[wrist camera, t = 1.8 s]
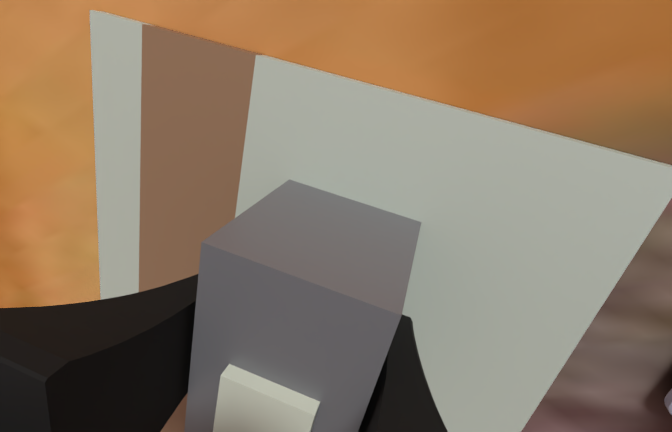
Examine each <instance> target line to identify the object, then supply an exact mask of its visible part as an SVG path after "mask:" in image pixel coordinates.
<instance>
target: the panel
mask: <svg viewBox="0 0 672 432" xmlns="http://www.w3.org/2000/svg"><path fill="white" fill-rule="evenodd" d="M90 33H91V60H92V86H93V112H94V138H95V165H96V191H97V217H98V243H99V270H100V296H101V300H102V299H108V298H114V297H119V296H125V295H129V294H134V293H138V292H142V291H146V290H150V289H154V288H157V287H161V286H164V285H167V284H170V283H173V282H176V281H179V280H182V279H185V278H188V277H191V276H194V275H196V274H199V263H200V252H201V242H202V241H204V240H205V239H206V238H208V237H209V236H211V235H212V234H213V233H215V232H216V231H218V230H219V229H220V228H222V227H223V226H225V225H226V224H227V223H229V222H230V221H232V220H233V219H234V218H236V217H237V216H239V215H240V214H241V213H243V212H244V211H246V210H247V209H248V208H250V207H251V206H253V205H254V204H255V203H257V202H258V201H260V200H261V199H262V198H264V197H265V196H267V195H268V194H269V193H271V192H272V191H274V190H275V189H277V188H278V187H279V186H281V185H282V184H284V183H285V182H286V181H288V180H289V179H290V180H293V181H296V182H299V183H302V184H305V185H308V186H311V187H314V188H317V189H321V190H324V191H327V192H330V193H333V194H336V195H339V196H342V197H345V198H348V199H351V200H355V201H358V202H361V203H364V204H367V205H370V206H373V207H376V208H379V209H382V210H385V211H388V212H392V213H395V214H398V215H401V216H404V217H407V218H410V219H413V220H416V221H419V222H421V227H420V231H419V236H418V241H417V246H416V250H415V255H414V260H413V264H412V269H411V274H410V278H409V283H408V288H407V292H406V297H405V302H404V307H403V311H402V314H403V315H405V316H408V317H410V318H411V319H412V321H413V330H414V336H415V341H416V345H417V349H418V353H419V357H420V361H421V364H422V368H423V371H424V374H425V377H426V380H427V383H428V386H429V389H430V392H431V394H432V397H433V399H434V402H435V404H436V407H437V409H438V412H439V414H440V416H441V418H442V420H443V423H444V425H445V427H446V429H447V431H448V432H521V431H522V429H523V428H524V426H525V425H526V423H527V422H528V420H529V419H530V417H531V415H532V414H533V412H534V411H535V409H536V408H537V406H538V405H539V403H540V401H541V400H542V398H543V397H544V395H545V394H546V392H547V391H548V389H549V387H550V386H551V384H552V383H553V381H554V380H555V378H556V377H557V375H558V373H559V372H560V370H561V369H562V367H563V366H564V364H565V363H566V361H567V359H568V358H569V356H570V355H571V353H572V352H573V350H574V349H575V347H576V345H577V344H578V342H579V341H580V339H581V338H582V336H583V335H584V333H585V331H586V330H587V328H588V327H589V325H590V324H591V322H592V321H593V319H594V317H595V316H596V314H597V313H598V311H599V310H600V308H601V307H602V305H603V303H604V302H605V300H606V299H607V297H608V296H609V294H610V293H611V291H612V290H613V288H614V286H615V285H616V283H617V282H618V280H619V279H620V277H621V276H622V274H623V272H624V271H625V269H626V268H627V266H628V265H629V263H630V262H631V260H632V258H633V257H634V255H635V254H636V252H637V251H638V249H639V248H640V246H641V244H642V243H643V241H644V240H645V238H646V237H647V235H648V234H649V232H650V230H651V229H652V227H653V226H654V224H655V223H656V221H657V220H658V218H659V216H660V215H661V213H662V212H663V210H664V209H665V207H666V206H667V204H668V202H669V201H670V199H671V198H672V165H669V164H665V163H661V162H657V161H654V160H650V159H646V158H643V157H639V156H635V155H632V154H628V153H624V152H620V151H617V150H613V149H609V148H606V147H602V146H598V145H595V144H591V143H587V142H584V141H580V140H576V139H572V138H569V137H565V136H561V135H558V134H554V133H550V132H547V131H543V130H539V129H535V128H532V127H528V126H524V125H521V124H517V123H513V122H510V121H506V120H502V119H499V118H495V117H491V116H487V115H484V114H480V113H476V112H473V111H469V110H465V109H462V108H458V107H454V106H450V105H447V104H443V103H439V102H436V101H432V100H428V99H425V98H421V97H417V96H414V95H410V94H406V93H402V92H399V91H395V90H391V89H388V88H384V87H380V86H377V85H373V84H369V83H365V82H362V81H358V80H354V79H351V78H347V77H343V76H340V75H336V74H332V73H329V72H325V71H321V70H317V69H314V68H310V67H306V66H303V65H299V64H295V63H292V62H288V61H284V60H280V59H277V58H273V57H269V56H266V55H262V54H258V53H255V52H251V51H247V50H244V49H240V48H236V47H232V46H229V45H225V44H221V43H218V42H214V41H210V40H207V39H203V38H199V37H195V36H192V35H188V34H184V33H181V32H177V31H173V30H170V29H166V28H162V27H158V26H155V25H151V24H147V23H144V22H140V21H136V20H133V19H129V18H125V17H122V16H118V15H114V14H110V13H107V12H102V11H95V10H90ZM187 395H188V393H187V394H186V395H185V397H184V398H183V400H182V401H181V402H180V404H179V405H178V407H177V408H176V410H175V411H174V413H173V414H172V415H171V417H170V418H169V420H168V421H167V423H166V424H165V426H164V427H163V429H162V430H161V432H184V428H185V417H186V406H187Z"/></svg>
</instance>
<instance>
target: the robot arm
mask: <svg viewBox="0 0 672 432" xmlns="http://www.w3.org/2000/svg"><path fill="white" fill-rule="evenodd" d="M197 285H198V274H196V275H194V276H191V277H188V278H185V279H182V280H179V281H176V282H173V283H170V284H167V285H164V286H161V287H157V288H154V289H150V290H146V291H142V292H138V293H134V294H129V295H125V296H119V297H114V298H108V299H102V300H97V301H91V302H83V303H75V304H66V305H56V306H43V307H22V308H0V432H161V430H162V429H163V427H164V426H165V424H166V423H167V421H168V420H169V418H170V417H171V415H172V414H173V413H174V411H175V410H176V408H177V407H178V405H179V404H180V402H181V401H182V400H183V398H184V397H185V395H186V394H187V393H188V384H189V373H190V362H191V351H192V340H193V329H194V318H195V307H196V296H197ZM664 403H665V406H666V408H667V409H668V411H669V413H670V414H671V415H672V389H671V390H670V391H669V393H668V394H667V395H666V397H665V399H664ZM358 432H448V431H447V429H446V427H445V425H444V423H443V420H442V418H441V416H440V414H439V412H438V409H437V407H436V404H435V402H434V399H433V397H432V394H431V392H430V389H429V386H428V383H427V380H426V377H425V374H424V371H423V368H422V364H421V361H420V357H419V353H418V349H417V345H416V341H415V336H414V330H413V321H412V319H411V318H410V317H408V316H405V315H403V314H402V316H401V318H400V321H399V324H398V326H397V329H396V332H395V334H394V337H393V340H392V342H391V345H390V348H389V350H388V353H387V356H386V358H385V361H384V364H383V366H382V369H381V372H380V374H379V377H378V380H377V382H376V385H375V388H374V390H373V393H372V396H371V398H370V401H369V404H368V406H367V409H366V412H365V414H364V417H363V420H362V422H361V425H360V428H359V430H358Z"/></svg>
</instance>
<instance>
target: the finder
mask: <svg viewBox="0 0 672 432" xmlns="http://www.w3.org/2000/svg"><path fill="white" fill-rule="evenodd" d="M420 227H421V222H419V221H416V220H413V219H410V218H407V217H404V216H401V215H398V214H395V213H392V212H388V211H385V210H382V209H379V208H376V207H373V206H370V205H367V204H364V203H361V202H358V201H355V200H351V199H348V198H345V197H342V196H339V195H336V194H333V193H330V192H327V191H324V190H321V189H317V188H314V187H311V186H308V185H305V184H302V183H299V182H296V181H293V180H290V179H289V180H288V181H286V182H285V183H284V184H282V185H281V186H279V187H278V188H277V189H275V190H274V191H272V192H271V193H269V194H268V195H267V196H265V197H264V198H262V199H261V200H260V201H258V202H257V203H255V204H254V205H253V206H251V207H250V208H248V209H247V210H246V211H244V212H243V213H241V214H240V215H239V216H237V217H236V218H234V219H233V220H232V221H230V222H229V223H227V224H226V225H225V226H223V227H222V228H220V229H219V230H218V231H216V232H215V233H213V234H212V235H211V236H209V237H208V238H206V239H205V240H204V241H202V242H201V252H200V263H199V274H198V285H197V296H196V307H195V318H194V329H193V340H192V351H191V362H190V373H189V384H188V395H187V406H186V417H185V428H184V432H358V430H359V428H360V425H361V422H362V420H363V417H364V414H365V412H366V409H367V406H368V404H369V401H370V398H371V396H372V393H373V390H374V388H375V385H376V382H377V380H378V377H379V374H380V372H381V369H382V366H383V364H384V361H385V358H386V356H387V353H388V350H389V348H390V345H391V342H392V340H393V337H394V334H395V332H396V329H397V326H398V324H399V321H400V318H401V316H402V311H403V307H404V302H405V297H406V292H407V288H408V283H409V278H410V274H411V269H412V264H413V260H414V255H415V250H416V246H417V241H418V236H419V231H420Z"/></svg>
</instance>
